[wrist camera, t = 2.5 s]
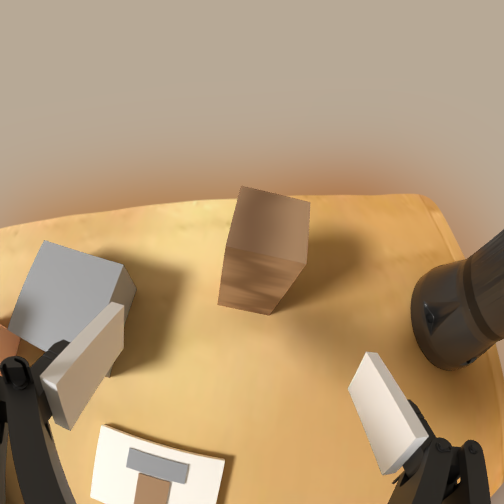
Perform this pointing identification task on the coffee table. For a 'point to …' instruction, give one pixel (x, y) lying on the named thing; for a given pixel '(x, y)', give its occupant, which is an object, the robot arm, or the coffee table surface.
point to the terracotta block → (8, 343)
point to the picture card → (151, 472)
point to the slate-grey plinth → (67, 295)
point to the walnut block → (263, 250)
